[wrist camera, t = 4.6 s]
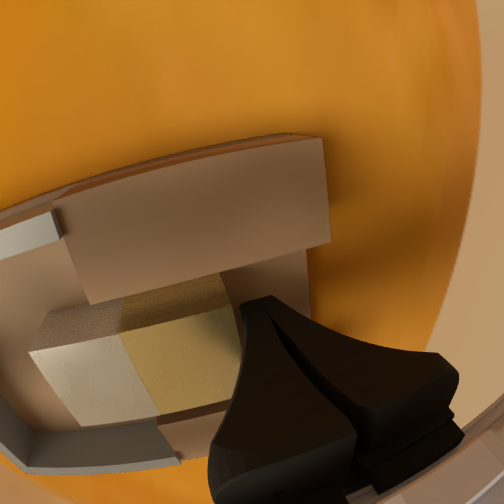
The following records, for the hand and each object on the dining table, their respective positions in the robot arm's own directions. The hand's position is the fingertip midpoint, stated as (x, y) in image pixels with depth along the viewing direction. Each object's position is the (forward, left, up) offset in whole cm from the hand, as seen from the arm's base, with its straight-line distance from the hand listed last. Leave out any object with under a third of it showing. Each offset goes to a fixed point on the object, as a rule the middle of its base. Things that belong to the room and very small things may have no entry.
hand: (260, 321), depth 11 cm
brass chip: (0, +3, -1) cm, 3 cm away
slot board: (0, +6, -2) cm, 6 cm away
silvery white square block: (0, +6, -1) cm, 6 cm away
